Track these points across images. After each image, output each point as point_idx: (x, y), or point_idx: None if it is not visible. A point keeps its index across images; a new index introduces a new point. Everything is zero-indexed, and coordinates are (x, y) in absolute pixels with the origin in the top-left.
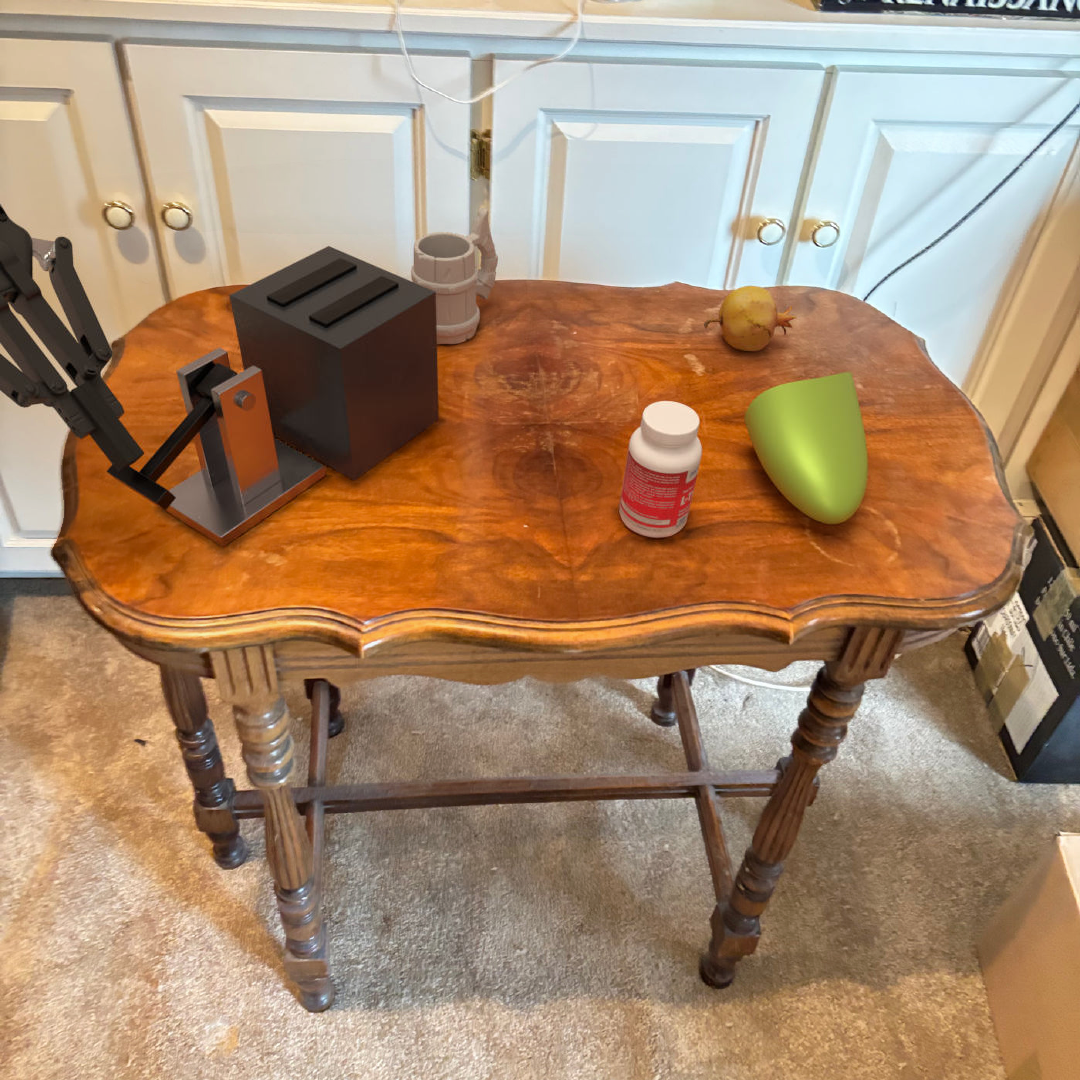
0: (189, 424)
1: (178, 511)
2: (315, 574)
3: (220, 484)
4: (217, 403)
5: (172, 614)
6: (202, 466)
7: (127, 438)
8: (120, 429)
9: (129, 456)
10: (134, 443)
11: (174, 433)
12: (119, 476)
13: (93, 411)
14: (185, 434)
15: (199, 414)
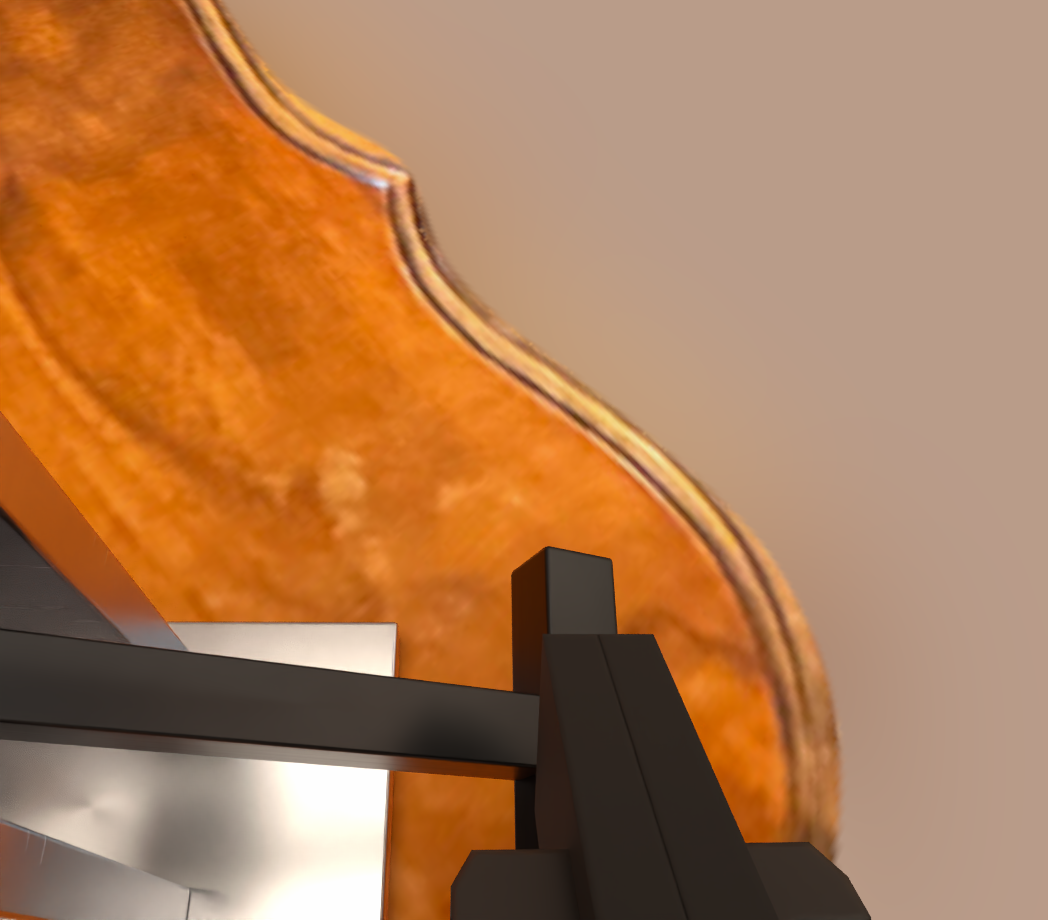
0: (183, 675)
1: (386, 872)
2: (322, 359)
3: (160, 867)
4: (20, 477)
5: (690, 543)
6: (159, 915)
7: (585, 694)
8: (596, 732)
9: (630, 645)
10: (561, 674)
11: (277, 724)
12: None
13: (718, 866)
14: (252, 661)
15: (94, 651)
